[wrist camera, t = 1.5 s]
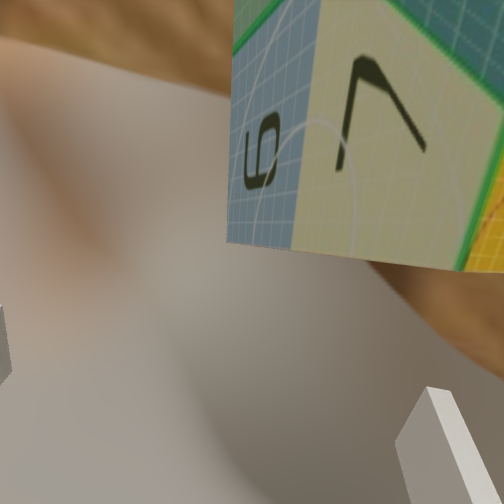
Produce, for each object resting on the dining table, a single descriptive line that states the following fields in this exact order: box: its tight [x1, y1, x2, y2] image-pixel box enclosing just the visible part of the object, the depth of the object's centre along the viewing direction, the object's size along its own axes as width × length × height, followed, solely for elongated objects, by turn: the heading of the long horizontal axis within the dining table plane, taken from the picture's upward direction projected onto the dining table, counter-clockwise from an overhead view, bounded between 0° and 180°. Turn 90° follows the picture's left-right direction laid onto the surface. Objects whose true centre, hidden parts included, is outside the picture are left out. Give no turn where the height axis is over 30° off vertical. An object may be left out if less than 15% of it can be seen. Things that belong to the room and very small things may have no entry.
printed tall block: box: [226, 0, 504, 273], centre depth 19 cm, size 17×16×30 cm
